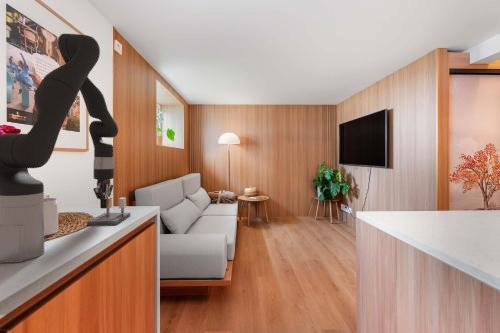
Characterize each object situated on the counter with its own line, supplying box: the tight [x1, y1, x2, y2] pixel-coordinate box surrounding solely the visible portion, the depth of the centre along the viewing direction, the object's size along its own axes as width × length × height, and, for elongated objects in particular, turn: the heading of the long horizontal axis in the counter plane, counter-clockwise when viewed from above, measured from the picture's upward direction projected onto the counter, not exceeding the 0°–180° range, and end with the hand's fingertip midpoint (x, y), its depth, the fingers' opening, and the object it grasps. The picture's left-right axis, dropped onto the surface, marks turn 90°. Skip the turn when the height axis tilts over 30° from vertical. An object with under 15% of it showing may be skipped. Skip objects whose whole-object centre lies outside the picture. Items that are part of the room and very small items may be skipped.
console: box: [86, 212, 131, 226], centre depth 106 cm, size 15×11×2 cm
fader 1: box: [106, 197, 113, 214], centre depth 110 cm, size 3×2×7 cm
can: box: [44, 197, 59, 237], centre depth 87 cm, size 6×6×12 cm
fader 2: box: [118, 197, 127, 213], centre depth 111 cm, size 3×2×7 cm
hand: (103, 208), depth 107 cm, fingers closed
